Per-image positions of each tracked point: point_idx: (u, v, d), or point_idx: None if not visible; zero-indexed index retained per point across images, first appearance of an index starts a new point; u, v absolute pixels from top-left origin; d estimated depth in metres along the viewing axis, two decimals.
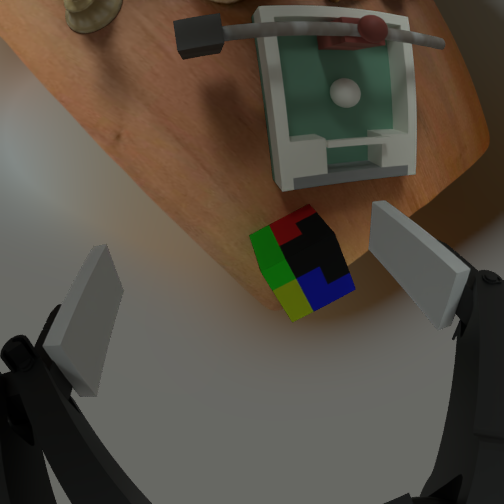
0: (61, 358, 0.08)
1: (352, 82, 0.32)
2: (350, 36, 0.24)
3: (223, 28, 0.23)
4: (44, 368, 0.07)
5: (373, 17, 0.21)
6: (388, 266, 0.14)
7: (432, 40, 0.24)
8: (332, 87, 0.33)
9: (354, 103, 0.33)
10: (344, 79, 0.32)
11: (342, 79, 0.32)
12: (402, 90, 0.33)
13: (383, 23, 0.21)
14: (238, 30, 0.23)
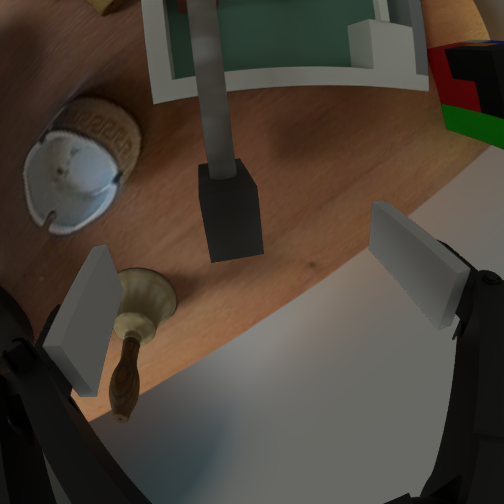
0: (61, 358, 0.08)
1: None
2: None
3: (216, 174, 0.17)
4: (44, 368, 0.07)
5: None
6: (388, 266, 0.14)
7: None
8: None
9: None
10: None
11: None
12: None
13: None
14: (220, 151, 0.16)
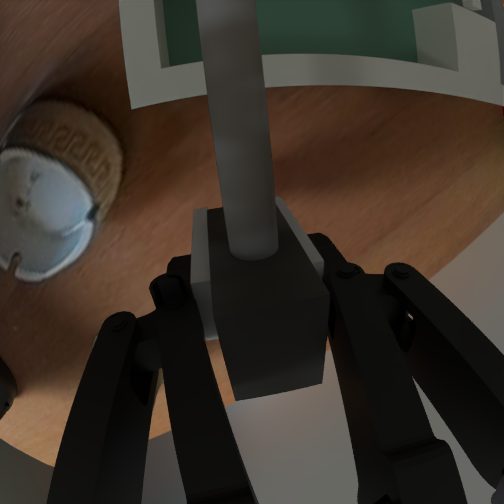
0: (207, 295, 0.10)
1: None
2: None
3: (242, 250, 0.09)
4: (194, 311, 0.09)
5: None
6: None
7: None
8: None
9: None
10: None
11: None
12: None
13: None
14: (252, 209, 0.09)
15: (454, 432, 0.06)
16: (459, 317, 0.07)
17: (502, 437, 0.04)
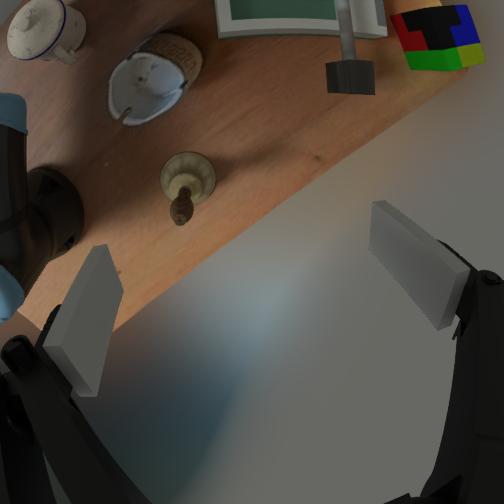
0: (61, 358, 0.08)
1: None
2: None
3: (348, 58, 0.29)
4: (44, 368, 0.07)
5: None
6: (388, 267, 0.14)
7: None
8: None
9: None
10: None
11: None
12: None
13: None
14: (351, 48, 0.28)
15: None
16: None
17: None
